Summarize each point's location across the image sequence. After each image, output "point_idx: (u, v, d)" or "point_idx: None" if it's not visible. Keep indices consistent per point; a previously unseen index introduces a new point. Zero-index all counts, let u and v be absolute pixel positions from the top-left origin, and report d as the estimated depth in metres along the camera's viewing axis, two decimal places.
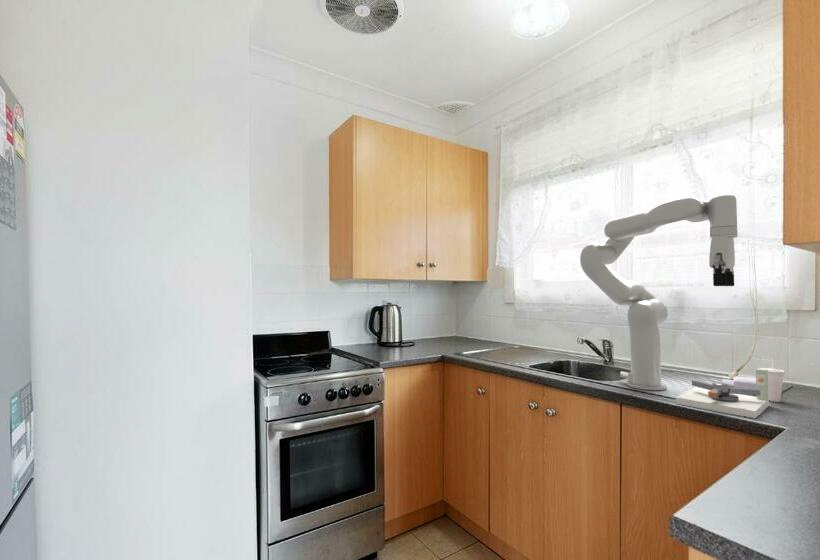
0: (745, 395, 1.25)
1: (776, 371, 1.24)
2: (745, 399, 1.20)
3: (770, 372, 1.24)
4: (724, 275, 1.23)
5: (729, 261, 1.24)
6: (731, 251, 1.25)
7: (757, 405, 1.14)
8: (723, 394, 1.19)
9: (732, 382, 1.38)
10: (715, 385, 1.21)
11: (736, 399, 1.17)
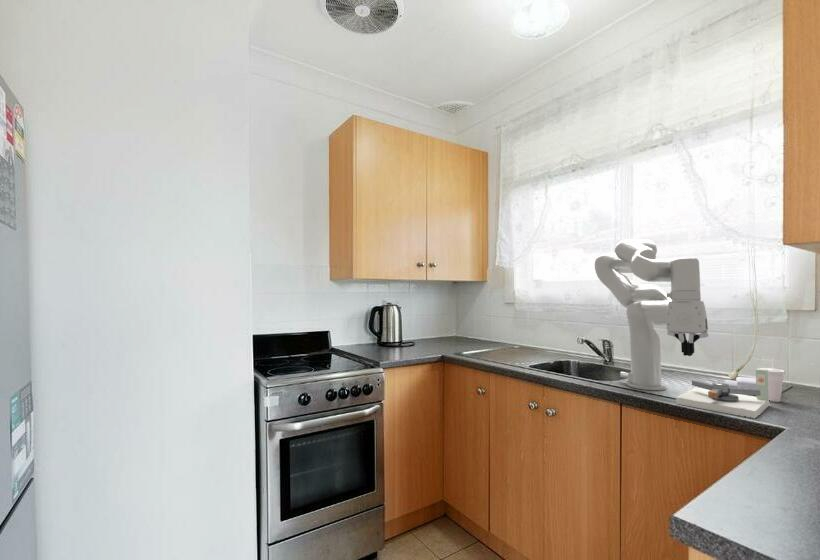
0: (745, 395, 1.25)
1: (776, 371, 1.24)
2: (745, 399, 1.20)
3: (770, 372, 1.24)
4: None
5: None
6: None
7: (757, 405, 1.14)
8: (723, 394, 1.19)
9: (735, 383, 1.37)
10: (715, 385, 1.21)
11: (736, 399, 1.17)
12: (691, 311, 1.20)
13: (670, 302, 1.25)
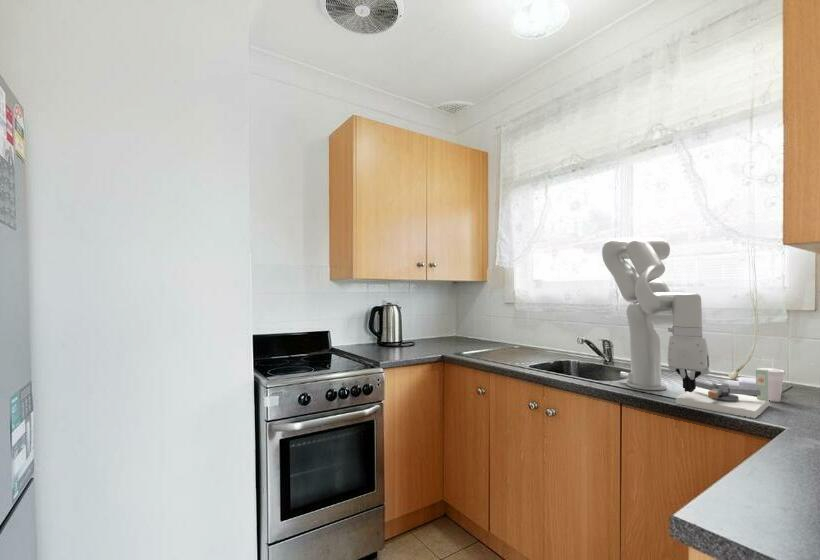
0: (745, 395, 1.25)
1: (776, 371, 1.24)
2: (745, 399, 1.20)
3: (770, 372, 1.24)
4: None
5: None
6: None
7: (757, 405, 1.14)
8: (723, 394, 1.19)
9: (737, 383, 1.37)
10: (715, 385, 1.21)
11: (736, 399, 1.17)
12: (693, 348, 1.20)
13: (672, 337, 1.25)
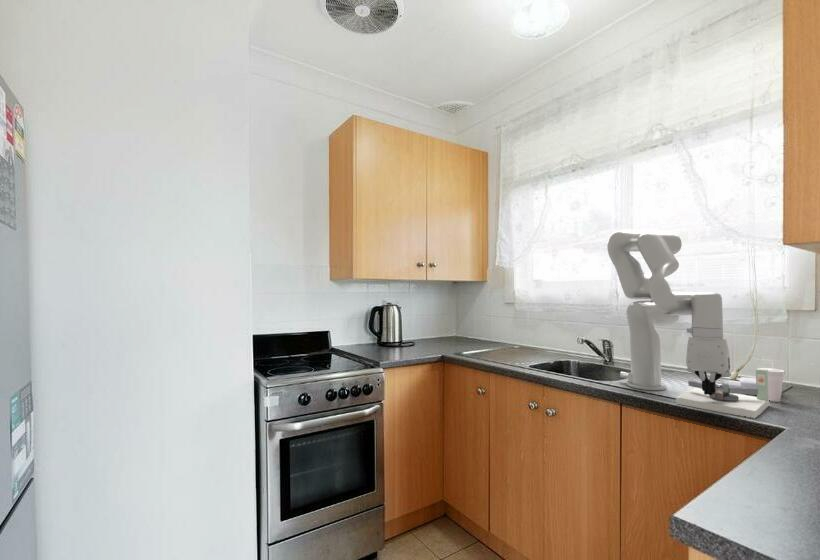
0: (745, 395, 1.25)
1: (776, 371, 1.24)
2: (745, 399, 1.20)
3: (770, 372, 1.24)
4: None
5: None
6: None
7: (757, 405, 1.14)
8: (724, 394, 1.19)
9: (739, 383, 1.36)
10: (716, 385, 1.21)
11: (737, 399, 1.18)
12: (713, 349, 1.16)
13: (691, 338, 1.21)
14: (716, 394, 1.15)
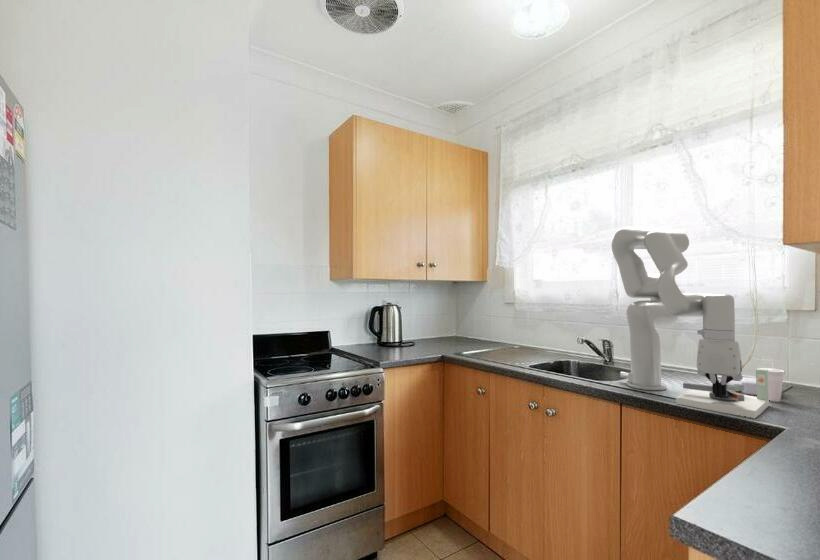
0: (745, 395, 1.25)
1: (776, 371, 1.24)
2: (745, 399, 1.20)
3: (770, 372, 1.24)
4: None
5: None
6: None
7: (757, 405, 1.14)
8: None
9: (740, 383, 1.36)
10: None
11: None
12: (725, 352, 1.14)
13: (702, 340, 1.19)
14: (739, 396, 1.12)
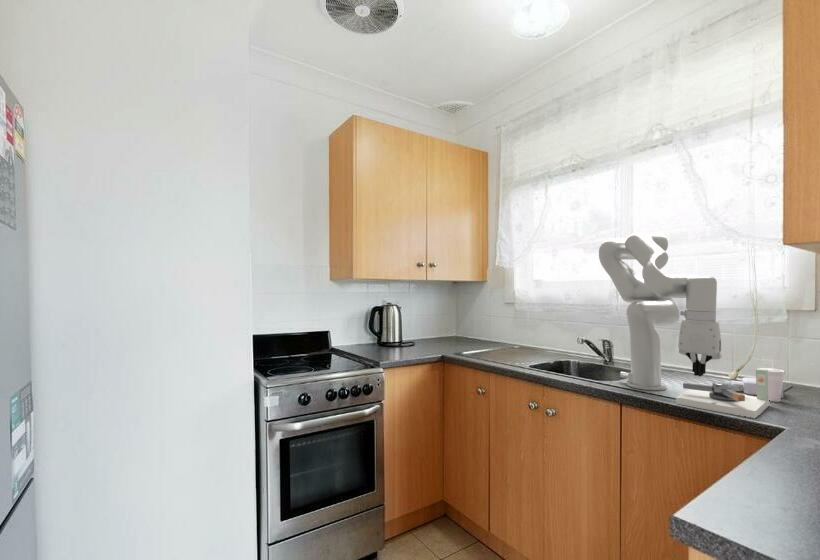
0: (745, 395, 1.25)
1: (776, 371, 1.24)
2: (745, 399, 1.20)
3: (770, 372, 1.24)
4: None
5: None
6: None
7: (757, 405, 1.14)
8: None
9: (742, 383, 1.36)
10: (721, 386, 1.20)
11: None
12: (705, 332, 1.18)
13: (684, 321, 1.22)
14: (739, 396, 1.12)
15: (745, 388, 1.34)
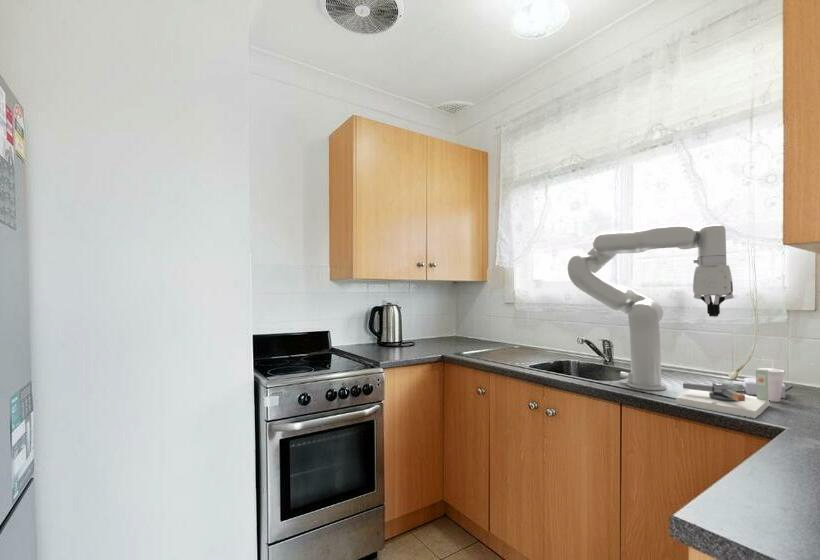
0: (745, 395, 1.25)
1: (776, 371, 1.24)
2: (745, 399, 1.20)
3: (770, 372, 1.24)
4: None
5: None
6: None
7: (757, 405, 1.14)
8: None
9: (743, 384, 1.36)
10: (721, 386, 1.20)
11: None
12: (717, 274, 1.29)
13: (697, 267, 1.34)
14: (739, 396, 1.12)
15: (747, 388, 1.33)
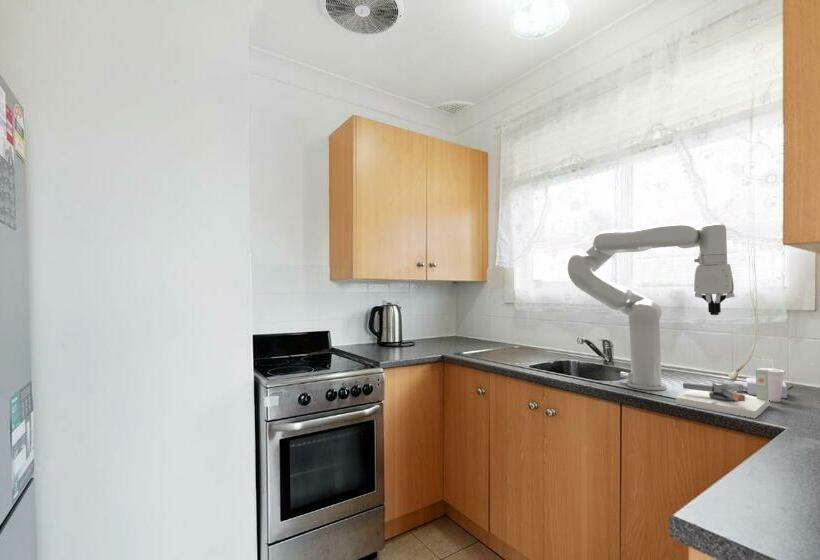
0: (745, 395, 1.25)
1: (776, 371, 1.24)
2: (745, 399, 1.20)
3: (770, 372, 1.24)
4: None
5: None
6: None
7: (757, 405, 1.14)
8: None
9: (745, 384, 1.35)
10: (721, 386, 1.20)
11: None
12: (718, 273, 1.30)
13: (698, 266, 1.35)
14: (739, 396, 1.12)
15: (749, 388, 1.33)
